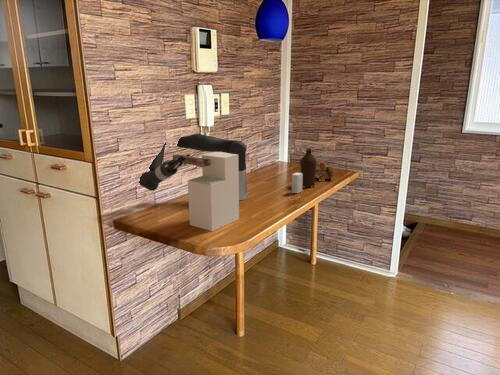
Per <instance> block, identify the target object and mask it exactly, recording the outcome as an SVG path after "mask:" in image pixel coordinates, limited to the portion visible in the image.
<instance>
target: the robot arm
mask: <svg viewBox="0 0 500 375" xmlns="http://www.w3.org/2000/svg"><path fill="white" fill-rule="evenodd" d="M165 145H166V143H165V144H164V146H163V148H162V150H161V152H160V153H159V154H158V156H156V158H155V159H154V160H153V162H152V164H151V165H150V167H149V169H150V171H149V172H147V171H145V172H143V173H142V176H141V177H140V181H139V183H140V184H139V183H138V184H139V186H141V187H143V188H145V189H147V190H149V191H151V192H154V191H156V190H157V189H158V187H159V184H161V183H162V182H163V181H165V180H167V179H169V178H172V176H174V175H175V174H176V173H178V169H179V168H181V167H183V165H184V166H187V164H185V163H180V162H182V161H184V160H185V157H184V155H185V154H182V155H183V156H181V157H179V158H176V159H173V158H172V159H168V160H165V161H164V157H165V156H164V155H165V150H166V146H165ZM177 146H178V147H177V148H184V149H190V150H195V151H200V152H206V153H212V152H222V153H229V154H237V155H238V167H239V201H244V200H246V199H247V198H248V181H247V163H246V162H247V160H246V159H247V156H246V152H247V148H248V147H247V145H246V143H245V142H243V141H241V140H234V139H233V140H231V139H223V138H220V137H219V138H218V137H215V136H210V135H205V134H202V133H201V134H200V133H193V134H189V135H185V136H183V137H181V138H180V139H179V141H178V144H177ZM185 156H191V155H190V154H189V153H188V154H186V155H185Z"/></svg>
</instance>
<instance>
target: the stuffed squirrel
mask: <svg viewBox="0 0 500 375" xmlns="http://www.w3.org/2000/svg"><path fill="white" fill-rule="evenodd" d="M326 165H327V163H326V162H325V161H323V160H321V161H319V162H318V163H317V166H316V177H315V178H318V179H319V180H325V179H328V178H331V179H333V176H334V174H335V173H336V170H337V169H336V168H335V167H334V166H332V165H328V166H326ZM318 179H317V180H318Z"/></svg>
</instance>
